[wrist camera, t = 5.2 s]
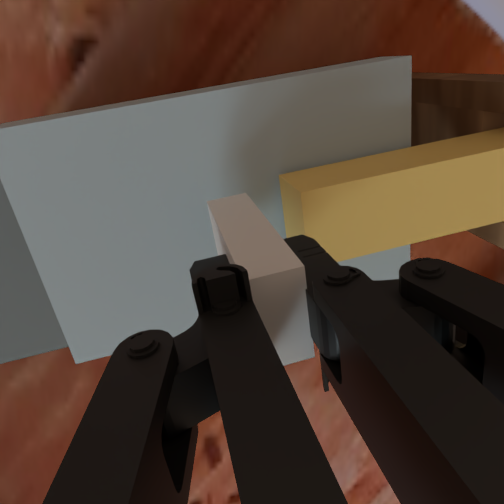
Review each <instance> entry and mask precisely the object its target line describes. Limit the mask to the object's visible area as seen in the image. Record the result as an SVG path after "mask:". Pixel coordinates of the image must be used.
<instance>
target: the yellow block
mask: <svg viewBox="0 0 504 504" xmlns="http://www.w3.org/2000/svg"><path fill="white" fill-rule="evenodd" d="M279 182H280V190H281V198H282V206H283V214H284V222H285V230H286V238H289V237H293V236H297V235H305V236H308V237H311V238H313V239H315V240H316V241H317V242H318V243H319V244H320V246H321V247H322V248H323V249H324V250H325V251H326V252H327V253H328V254H329V255H330V256H331V257H332V258H333V259H334V260H335V261H336V262H340V261H344V260H348V259H352V258H356V257H360V256H364V255H368V254H372V253H376V252H380V251H384V250H388V249H392V248H396V247H400V246H405V245H409V244H413V243H417V242H421V241H425V240H429V239H433V238H437V237H441V236H445V235H449V234H453V233H457V232H461V231H465V230H469V229H473V228H477V227H481V226H486V225H490V224H494V223H498V222H502V221H504V127H503V128H498V129H493V130H488V131H484V132H479V133H474V134H469V135H465V136H460V137H455V138H451V139H446V140H441V141H436V142H432V143H427V144H422V145H417V146H413V147H408V148H403V149H398V150H394V151H389V152H384V153H379V154H375V155H370V156H365V157H361V158H356V159H351V160H346V161H342V162H337V163H332V164H327V165H323V166H318V167H313V168H308V169H304V170H299V171H294V172H290V173H285V174H280V175H279Z"/></svg>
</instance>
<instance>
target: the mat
mask: <svg viewBox="0 0 504 504" xmlns="http://www.w3.org/2000/svg"><path fill="white" fill-rule="evenodd" d="M65 347H69V346H68V344H67V341H66V339H65V336H64V334H63V331H62V329H61V326H60V324H59V321H58V319H57V317H56V314H55V312H54V309H53V307H52V304H51V302H50V299H49V297H48V295H47V292H46V290H45V287H44V285H43V282H42V280H41V277H40V275H39V272H38V270H37V268H36V265H35V263H34V260H33V258H32V255H31V253H30V250H29V248H28V246H27V243H26V241H25V238H24V236H23V233H22V231H21V228H20V226H19V223H18V221H17V219H16V216H15V214H14V211H13V209H12V206H11V204H10V201H9V199H8V197H7V194H6V192H5V189H4V187H3V184H2V182H1V179H0V364H2V363H6V362H10V361H14V360H18V359H22V358H26V357H29V356H33V355H37V354H41V353H45V352H49V351H53V350H57V349H61V348H65Z"/></svg>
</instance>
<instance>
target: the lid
mask: <svg viewBox="0 0 504 504" xmlns="http://www.w3.org/2000/svg"><path fill="white" fill-rule="evenodd" d="M411 92H412V56H387V57H376V58H370V59H365V60H359V61H353V62H348V63H342V64H336V65H331V66H325V67H319V68H314V69H308V70H302V71H297V72H291V73H285V74H280V75H274V76H268V77H263V78H257V79H251V80H246V81H240V82H234V83H229V84H223V85H217V86H211V87H206V88H200V89H194V90H189V91H183V92H177V93H172V94H166V95H160V96H155V97H149V98H143V99H138V100H132V101H126V102H121V103H115V104H109V105H104V106H98V107H92V108H87V109H81V110H75V111H70V112H64V113H58V114H52V115H47V116H41V117H35V118H30V119H24V120H18V121H13V122H7V123H2V124H0V179H1V182H2V184H3V187H4V189H5V192H6V194H7V197H8V199H9V201H10V204H11V206H12V209H13V211H14V214H15V216H16V219H17V221H18V223H19V226H20V228H21V231H22V233H23V236H24V238H25V241H26V243H27V246H28V248H29V250H30V253H31V255H32V258H33V260H34V263H35V265H36V268H37V270H38V272H39V275H40V277H41V280H42V282H43V285H44V287H45V290H46V292H47V295H48V297H49V299H50V302H51V304H52V307H53V309H54V312H55V314H56V317H57V319H58V321H59V324H60V326H61V329H62V331H63V334H64V336H65V339H66V341H67V344H68V346H69V348H70V351H71V353H72V356H73V358H74V361H75V363H76V364H78V363H82V362H86V361H90V360H94V359H98V358H102V357H105V356H109V355H112V354H113V352H114V350H115V349H116V347H117V346H118V345H119V343H121V342H122V341H123V340H125V339H126V338H127V337H129V336H131V335H133V334H136V333H138V332H140V331H146V330H158V329H160V330H163V331H166V332H169V334H170V335H171V336H172V337H175V336H177V335H179V334H181V333H183V332H184V331H186V330H187V329H189V328H190V327H191V326H192V325H193V324H194V323H195V322H196V320H197V318H198V310H197V306H196V302H195V298H194V294H193V289H192V285H191V283H192V280H191V275H190V271H189V270H190V268H191V266H192V265H193V263H194V261H198V260H202V259H206V258H210V257H215V256H218V253H217V248H216V244H215V239H214V234H213V229H212V225H211V220H210V215H209V210H208V205H207V201H210V200H215V199H219V198H224V197H228V196H233V195H238V194H242V193H247V195H248V196H249V197H250V198H251V200H252V201H253V202H254V203H255V205H256V206H257V207H258V208H259V210H260V211H261V212H262V213H263V215H264V216H265V217H266V218H267V220H268V221H269V222H270V223H271V225H272V226H273V227H274V228H275V230H276V231H277V232H278V233H279V235H280V236H281V237H282V238H283V239H285V238H286V230H285V222H284V214H283V206H282V198H281V190H280V182H279V175H280V174H285V173H290V172H294V171H299V170H304V169H308V168H313V167H318V166H323V165H327V164H332V163H337V162H342V161H346V160H351V159H356V158H361V157H365V156H370V155H375V154H379V153H384V152H389V151H394V150H398V149H403V148H408V147H411ZM408 261H410V244H409V245H405V246H400V247H396V248H392V249H388V250H384V251H380V252H376V253H372V254H368V255H364V256H360V257H356V258H352V259H348V260H344V261H340V262H337V263H338V264H339V265H340V266H351V267H355V268H358V269H359V270H361V271H363V272H364V273H365V274H366V275H367V276H368V277H369V278H370V279H372V280H392V279H399V269H400V267H401V265H403V264H405V263H406V262H408Z"/></svg>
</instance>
